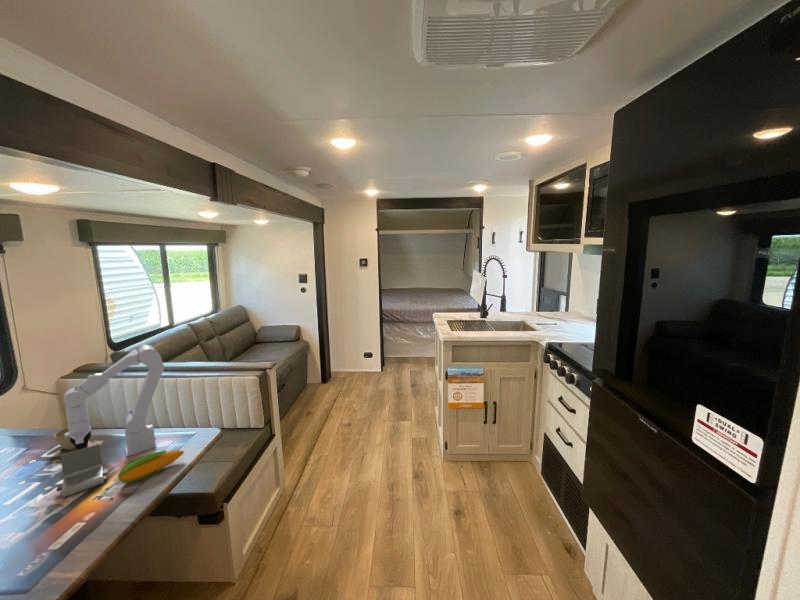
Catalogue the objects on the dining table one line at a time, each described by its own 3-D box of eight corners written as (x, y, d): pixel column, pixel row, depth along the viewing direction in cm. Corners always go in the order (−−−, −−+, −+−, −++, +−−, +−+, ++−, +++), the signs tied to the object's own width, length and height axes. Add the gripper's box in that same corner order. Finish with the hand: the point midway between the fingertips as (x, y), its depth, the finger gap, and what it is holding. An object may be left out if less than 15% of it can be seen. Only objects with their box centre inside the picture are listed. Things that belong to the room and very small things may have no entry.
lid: (102, 466, 119) (102, 463, 120) (99, 444, 118) (99, 442, 120) (63, 479, 112) (64, 476, 114) (60, 456, 111) (61, 453, 113)
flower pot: (87, 436, 142) (84, 421, 141) (92, 444, 136) (90, 429, 135) (54, 447, 134) (51, 432, 133) (59, 456, 128) (56, 440, 127)
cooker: (108, 471, 120) (107, 464, 120) (108, 482, 115) (107, 474, 114) (59, 488, 112) (57, 480, 111) (57, 500, 106) (55, 492, 106)
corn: (114, 462, 114) (179, 437, 129) (117, 481, 115) (180, 454, 131) (119, 473, 109) (186, 446, 125) (121, 492, 111) (187, 463, 126)
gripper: (64, 415, 122) (69, 447, 124) (61, 431, 112) (66, 466, 114) (89, 409, 127) (94, 440, 129) (89, 424, 117) (94, 458, 119)
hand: (83, 452), depth 122 cm, fingers closed
